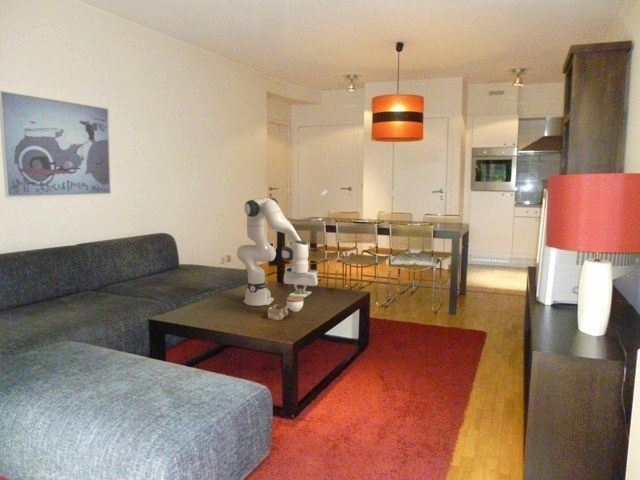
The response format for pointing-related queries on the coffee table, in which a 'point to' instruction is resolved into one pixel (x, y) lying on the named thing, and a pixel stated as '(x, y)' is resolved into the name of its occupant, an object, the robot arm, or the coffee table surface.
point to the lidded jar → (295, 303)
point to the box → (277, 312)
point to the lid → (300, 293)
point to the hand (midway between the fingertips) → (300, 292)
